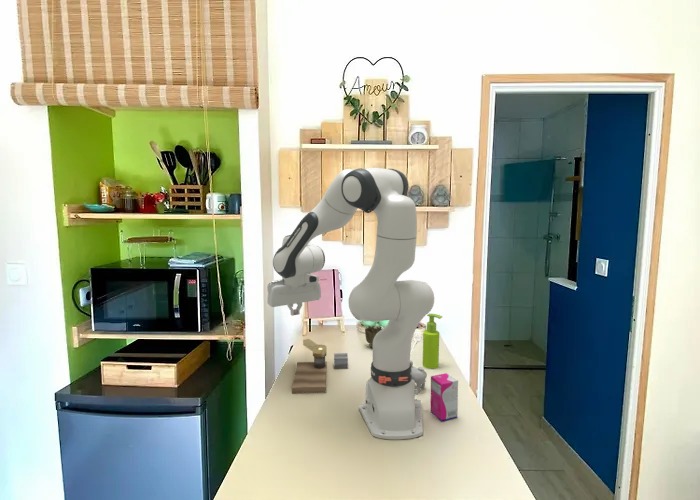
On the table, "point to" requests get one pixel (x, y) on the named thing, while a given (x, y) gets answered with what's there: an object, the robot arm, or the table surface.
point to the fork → (415, 341)
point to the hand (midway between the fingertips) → (295, 314)
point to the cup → (371, 334)
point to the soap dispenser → (431, 344)
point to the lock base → (316, 374)
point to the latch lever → (315, 348)
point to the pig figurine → (418, 376)
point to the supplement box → (444, 397)
